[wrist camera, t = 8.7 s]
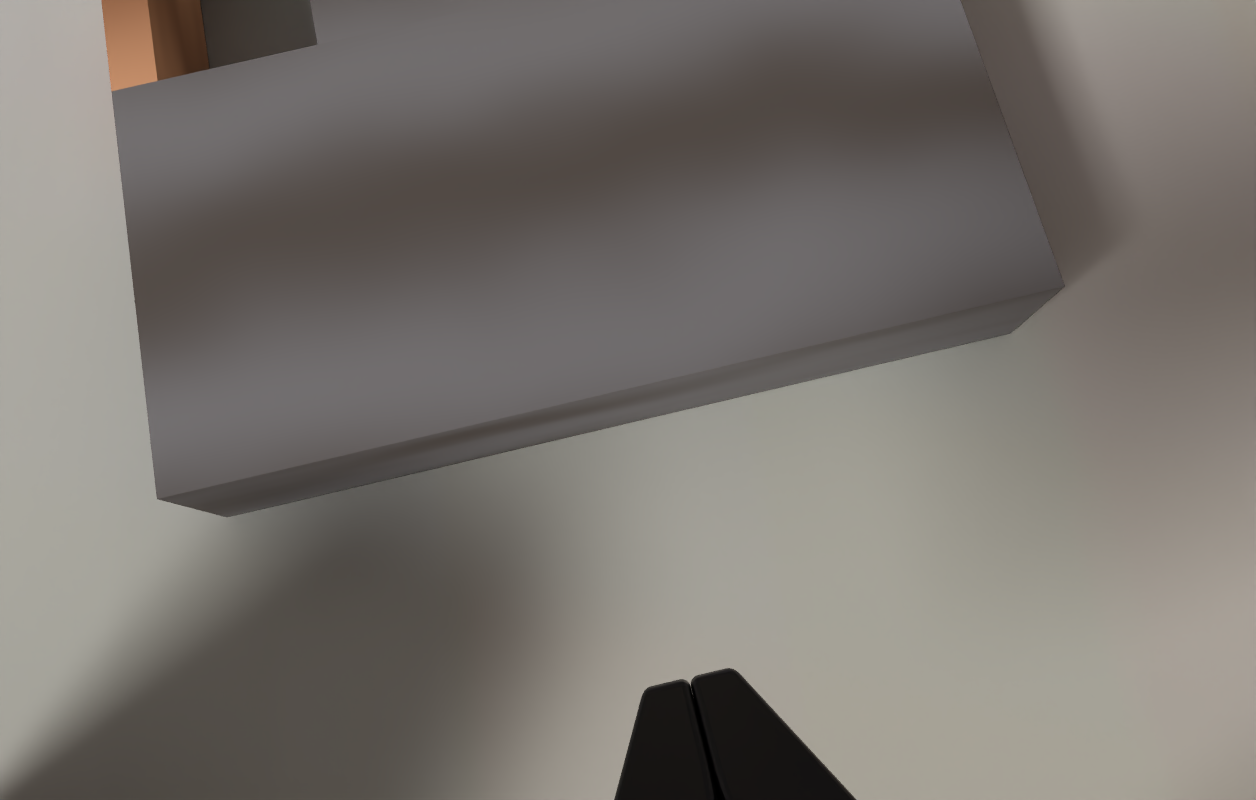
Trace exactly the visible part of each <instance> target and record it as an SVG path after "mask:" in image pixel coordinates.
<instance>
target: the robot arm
mask: <svg viewBox="0 0 1256 800" xmlns="http://www.w3.org/2000/svg"><path fill="white" fill-rule="evenodd" d="M691 689H692V690H691ZM692 693H693V694H692ZM614 800H856V799H855V798H854V796H853V795H852V794H851V793H850V792H849V791H848V790H847V789H846V788H845V787H844V786H843V785H842V784H841V782H840V781H839V780H838V779H837V778H836V777H835V776H834V775H833V774H832V773H831V772H830V771H829V770H828V768H827V767H826V766H825V765H824V764H823V763H822V762H821V761H820V760H819V759H818V758H817V757H816V755H815V754H814V753H813V752H812V751H811V750H810V749H809V748H808V747H807V746H806V745H805V744H804V743H803V741H802V740H801V739H800V738H799V737H798V736H797V735H796V734H795V733H794V732H793V731H792V730H791V728H790V727H789V726H788V725H787V724H786V723H785V722H784V721H783V720H782V719H781V718H780V717H779V716H778V714H777V713H776V712H775V711H774V710H773V709H772V708H771V707H770V706H769V705H768V704H767V703H766V701H765V700H764V699H763V698H762V697H761V696H760V695H759V694H758V693H757V692H756V691H755V690H754V689H753V687H752V686H751V685H750V684H749V683H748V682H747V681H746V680H745V679H744V678H743V677H742V676H741V675H740V674H739V673H738V672H737V671H736V670H734V669H731V668H726V669H722V670H718V671H714V672H709V673H705V674H701V675H697V676H695V677H694V678H693V679H692V681H691V686H690V684H689V683H688V682H687V681H686V680H683V679H680V680H676V681H672V682H667V683H663V684H659V685H655V686H651V687H648V688H647V689H646V690H645V691H644V693H643V695H642V697H641V701H640V705H639V709H638V712H637V716H636V720H635V724H634V727H633V731H632V735H631V739H630V742H629V746H628V750H627V754H626V758H625V761H624V765H623V769H622V773H621V776H620V780H619V784H618V788H617V792H616V795H615V799H614Z"/></svg>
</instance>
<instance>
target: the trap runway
mask: <svg viewBox="0 0 1256 800" xmlns="http://www.w3.org/2000/svg"><path fill="white" fill-rule="evenodd" d="M310 4H311V10H312V16H313V22H314V27H315V33H316V39H317V45H313V46H309V47H304V48H300V49H296V50H291V51H287V52H282V53H278V54H274V55H269V56H265V57H260V58H256V59H252V60H247V61H243V62H238V63H234V64H230V65H225V66H221V67H216V68H212V69H209V62H208V55H207V47H206V40H205V33H204V26H203V19H202V12H201V5H200V0H102V9H103V18H104V27H105V36H106V45H107V54H108V63H109V72H110V81H111V90H112V99H113V108H114V117H115V126H116V135H117V144H118V153H119V162H120V171H121V180H122V189H123V198H124V207H125V216H126V225H127V234H128V243H129V252H130V261H131V270H132V279H133V288H134V296H135V305H136V314H137V323H138V332H139V341H140V350H141V359H142V368H143V377H144V386H145V395H146V404H147V413H148V422H149V431H150V440H151V449H152V458H153V467H154V476H155V485H156V494H157V499H159V500H163V501H167V502H171V503H174V504H178V505H182V506H186V507H190V508H194V509H197V510H201V511H205V512H209V513H213V514H216V515H220V516H224V517H230V516H234V515H239V514H243V513H247V512H251V511H256V510H260V509H264V508H268V507H273V506H277V505H281V504H285V503H290V502H294V501H298V500H302V499H307V498H311V497H315V496H320V495H324V494H328V493H332V492H337V491H341V490H345V489H349V488H354V487H358V486H362V485H366V484H371V483H375V482H379V481H383V480H388V479H392V478H396V477H400V476H405V475H409V474H413V473H417V472H422V471H426V470H430V469H435V468H439V467H443V466H447V465H452V464H456V463H460V462H464V461H469V460H473V459H477V458H481V457H486V456H490V455H494V454H498V453H503V452H507V451H511V450H515V449H520V448H524V447H528V446H532V445H537V444H541V443H545V442H550V441H554V440H558V439H562V438H567V437H571V436H575V435H579V434H584V433H588V432H592V431H596V430H601V429H605V428H609V427H613V426H618V425H622V424H626V423H630V422H635V421H639V420H643V419H647V418H652V417H656V416H660V415H664V414H669V413H673V412H677V411H682V410H686V409H690V408H694V407H699V406H703V405H707V404H711V403H716V402H720V401H724V400H728V399H733V398H737V397H741V396H745V395H750V394H754V393H758V392H762V391H767V390H771V389H775V388H779V387H784V386H788V385H792V384H797V383H801V382H805V381H809V380H814V379H818V378H822V377H826V376H831V375H835V374H839V373H843V372H848V371H852V370H856V369H860V368H865V367H869V366H873V365H877V364H882V363H886V362H890V361H894V360H899V359H903V358H907V357H912V356H916V355H920V354H924V353H929V352H933V351H937V350H941V349H946V348H950V347H954V346H958V345H963V344H967V343H971V342H975V341H980V340H984V339H988V338H992V337H997V336H1001V335H1005V334H1009V333H1012V332H1013V331H1014V330H1015V329H1016V328H1017V327H1019V326H1020V325H1021V324H1022V323H1023V322H1024V321H1026V320H1027V319H1028V318H1029V317H1030V316H1031V315H1032V314H1034V313H1035V312H1036V311H1037V310H1038V309H1039V308H1040V307H1042V306H1043V305H1044V304H1045V303H1046V302H1047V301H1049V300H1050V299H1051V298H1052V297H1053V296H1054V295H1055V294H1057V293H1058V292H1059V291H1060V290H1061V289H1062V288H1064V287H1065V285H1064V283H1063V280H1062V277H1061V275H1060V272H1059V269H1058V266H1057V264H1056V261H1055V258H1054V255H1053V253H1052V250H1051V247H1050V244H1049V242H1048V239H1047V236H1046V233H1045V231H1044V228H1043V225H1042V222H1041V220H1040V217H1039V214H1038V211H1037V209H1036V206H1035V203H1034V200H1033V198H1032V195H1031V192H1030V190H1029V187H1028V184H1027V181H1026V179H1025V176H1024V173H1023V170H1022V168H1021V165H1020V162H1019V159H1018V157H1017V154H1016V151H1015V148H1014V146H1013V143H1012V140H1011V137H1010V135H1009V132H1008V129H1007V126H1006V124H1005V121H1004V118H1003V116H1002V113H1001V110H1000V107H999V105H998V102H997V99H996V96H995V94H994V91H993V88H992V85H991V83H990V80H989V77H988V74H987V72H986V69H985V66H984V63H983V61H982V58H981V55H980V52H979V50H978V47H977V44H976V42H975V39H974V36H973V33H972V31H971V28H970V25H969V22H968V20H967V17H966V14H965V11H964V9H963V6H962V3H961V0H310Z"/></svg>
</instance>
